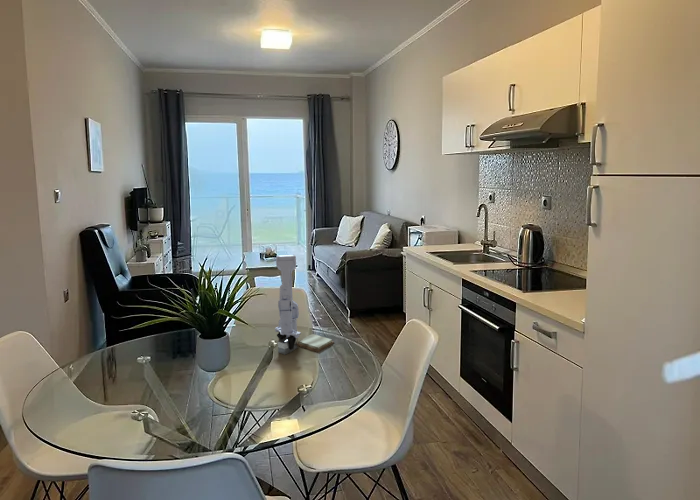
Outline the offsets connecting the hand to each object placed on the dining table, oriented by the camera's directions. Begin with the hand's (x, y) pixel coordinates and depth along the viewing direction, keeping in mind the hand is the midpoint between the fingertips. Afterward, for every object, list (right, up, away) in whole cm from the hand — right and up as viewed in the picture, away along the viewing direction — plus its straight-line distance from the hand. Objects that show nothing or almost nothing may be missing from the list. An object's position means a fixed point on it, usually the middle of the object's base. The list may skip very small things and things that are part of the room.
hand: (287, 347), depth 256 cm
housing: (0, -1, 0) cm, 1 cm away
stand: (+13, +1, +6) cm, 15 cm away
